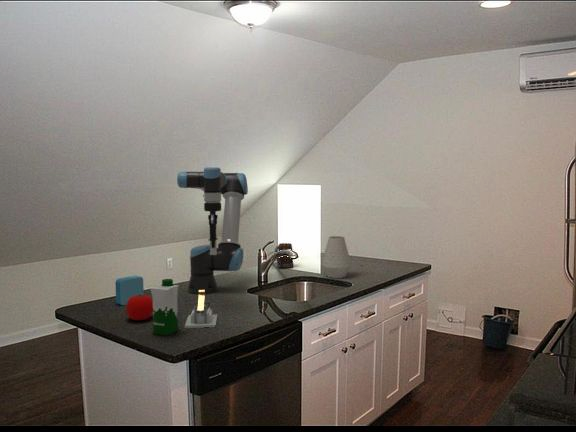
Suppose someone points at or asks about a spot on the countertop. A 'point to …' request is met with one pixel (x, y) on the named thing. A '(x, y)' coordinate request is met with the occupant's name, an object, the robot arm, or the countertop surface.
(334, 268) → the vase
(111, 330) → the countertop surface
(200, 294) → the wooden bar
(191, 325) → the base
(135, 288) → the light blue flat block
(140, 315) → the tomato
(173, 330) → the milk carton
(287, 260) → the mug
